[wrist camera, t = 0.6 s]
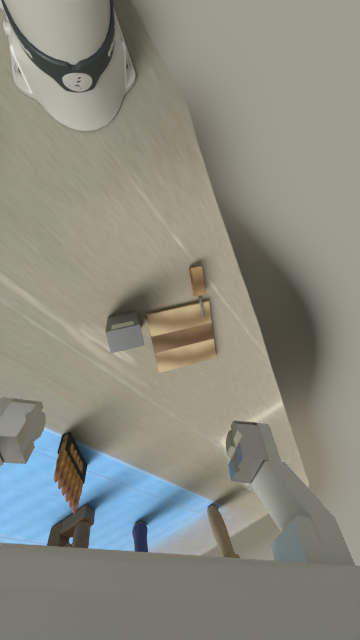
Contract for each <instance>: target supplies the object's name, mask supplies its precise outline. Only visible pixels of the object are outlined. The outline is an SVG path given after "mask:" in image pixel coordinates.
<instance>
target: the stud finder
mask: <svg viewBox="0 0 360 640" xmlns="http://www.w3.org/2000/svg"><path fill="white" fill-rule="evenodd" d="M106 336H107V340H108V343H109V347H110V351H111V353H114V352H118V351H123V350H127V349H131V348H135V347H139V346H143V345H144V340H143V336H142V331H141V327H140V323H139V319H138V316H137V312H136V311H135V312H131V313H126V314H121V315H117V316H112V317H108V319H107V326H106Z"/></svg>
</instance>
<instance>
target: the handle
mask: <svg viewBox="0 0 360 640" xmlns="http://www.w3.org/2000/svg"><path fill="white" fill-rule="evenodd" d="M207 509H208V511H207V513H208V517H209V521H210V525H211V528H212V531H213V534H214V537H215V539H216V542H217V544H218V547H219V549H220V552H221V555H222V557H227V558H240V557H239V555H237V554H235V552H234V550H233V547H232V544H231V541H230V538H229V535H228V532H227V529H226V526H225V523H224V521H223V519H222V516H221V514H220V512H219V511H218V508H217V506H216V505H211V506H210V507H208V508H207Z"/></svg>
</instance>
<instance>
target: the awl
mask: <svg viewBox="0 0 360 640" xmlns="http://www.w3.org/2000/svg"><path fill="white" fill-rule="evenodd" d="M189 270H190V276H191V283H192V289H193V295H194V296H199V302H200V308H201V314H202V317H205V316H204V310H203V303H202V297H201V295H205V294H206V290H205V283H204V276H203V270H202V266H195V267H190V268H189Z"/></svg>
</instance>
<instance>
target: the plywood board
mask: <svg viewBox="0 0 360 640" xmlns="http://www.w3.org/2000/svg"><path fill="white" fill-rule="evenodd" d="M202 303H203V310H204V316H205V317H202V314H201V308H200V302H198V303H193V304H189V305H184V306H179V307H175V308H170V309H166V310H161V311H157V312H152V313H147V319H148V324H149V328H150V333H151V338H152V343H153V347H154V352H155V357H156V362H157V366H158V371H159V373H161V372H165V371H168V370H172V369H176V368H180V367H184V366H187V365H191V364H195V363H199V362H203V361H206V360H210V359H214V358H216V351H215V343H214V335H213V327H212V320H211V312H210V304H209V301H208V300H207V301H202Z"/></svg>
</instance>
